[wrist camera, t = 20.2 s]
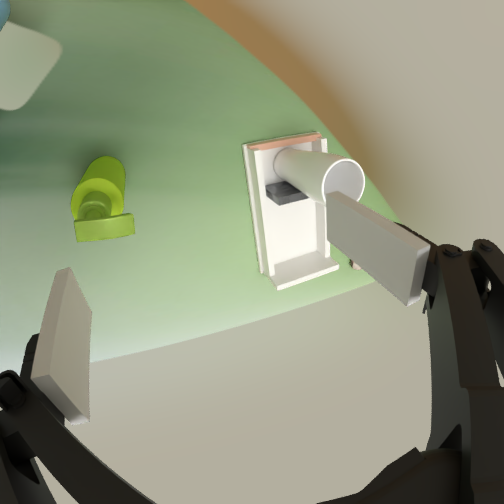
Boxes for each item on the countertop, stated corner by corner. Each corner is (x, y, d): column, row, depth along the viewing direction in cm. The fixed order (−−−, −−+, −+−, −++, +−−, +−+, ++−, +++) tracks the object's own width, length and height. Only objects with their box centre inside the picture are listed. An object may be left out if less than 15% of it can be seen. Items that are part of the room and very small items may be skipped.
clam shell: (358, 245, 65) (365, 251, 63) (369, 256, 67) (376, 262, 65) (345, 261, 65) (352, 267, 63) (356, 271, 68) (363, 277, 66)
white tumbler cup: (267, 185, 50) (318, 214, 37) (269, 142, 47) (323, 157, 34) (304, 183, 52) (362, 210, 39) (307, 143, 49) (368, 158, 36)
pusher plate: (262, 186, 49) (278, 198, 45) (312, 174, 52) (332, 185, 47) (262, 193, 50) (279, 205, 45) (312, 181, 52) (332, 192, 47)
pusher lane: (241, 144, 46) (258, 152, 41) (316, 131, 49) (340, 138, 44) (259, 271, 58) (274, 291, 53) (321, 251, 61) (341, 268, 56)
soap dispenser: (133, 193, 44) (137, 256, 27) (88, 198, 42) (65, 265, 25) (131, 153, 41) (131, 193, 25) (84, 158, 39) (53, 202, 22)
